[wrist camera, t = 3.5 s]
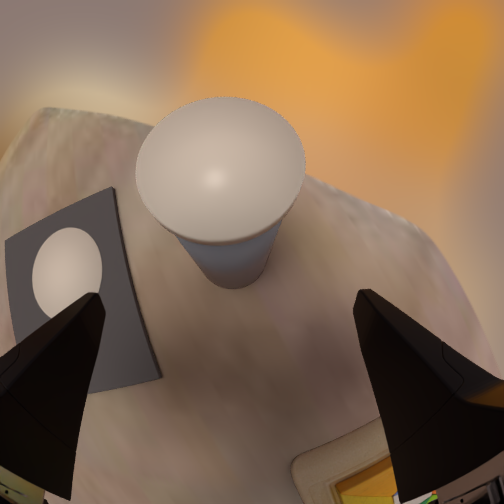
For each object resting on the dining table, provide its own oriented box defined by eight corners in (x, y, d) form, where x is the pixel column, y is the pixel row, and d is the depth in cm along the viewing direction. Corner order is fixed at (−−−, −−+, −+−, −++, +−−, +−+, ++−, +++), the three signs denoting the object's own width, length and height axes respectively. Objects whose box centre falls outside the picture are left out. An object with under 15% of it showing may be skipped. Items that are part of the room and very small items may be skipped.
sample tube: (279, 277, 21) (334, 205, 8) (209, 301, 20) (154, 265, 7) (254, 212, 22) (267, 84, 9) (188, 234, 21) (127, 124, 9)
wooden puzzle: (334, 561, 13) (342, 579, 10) (283, 456, 18) (289, 477, 14) (464, 485, 15) (480, 494, 12) (453, 364, 20) (477, 366, 16)
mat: (161, 377, 18) (159, 378, 18) (36, 400, 17) (32, 401, 16) (114, 189, 22) (111, 185, 21) (8, 242, 20) (4, 240, 20)
